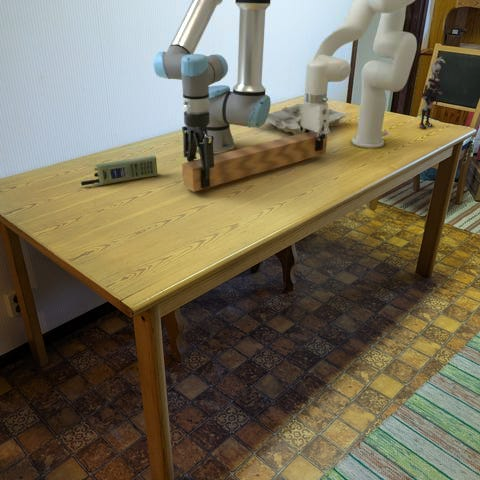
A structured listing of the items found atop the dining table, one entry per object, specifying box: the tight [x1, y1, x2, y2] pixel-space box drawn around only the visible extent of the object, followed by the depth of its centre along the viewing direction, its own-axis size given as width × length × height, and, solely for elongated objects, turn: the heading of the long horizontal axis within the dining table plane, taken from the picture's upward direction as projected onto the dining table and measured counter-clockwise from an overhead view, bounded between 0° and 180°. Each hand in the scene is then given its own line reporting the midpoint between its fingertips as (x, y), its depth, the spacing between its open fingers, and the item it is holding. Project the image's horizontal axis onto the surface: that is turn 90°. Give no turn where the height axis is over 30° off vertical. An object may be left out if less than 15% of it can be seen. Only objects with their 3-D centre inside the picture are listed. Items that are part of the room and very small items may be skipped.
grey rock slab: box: [265, 103, 350, 136], centre depth 219 cm, size 38×6×30 cm
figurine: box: [419, 56, 446, 130], centre depth 216 cm, size 15×6×30 cm, turn 132°
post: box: [181, 131, 328, 193], centre depth 171 cm, size 58×6×7 cm, turn 127°
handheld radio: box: [80, 155, 159, 187], centre depth 164 cm, size 7×3×25 cm
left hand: (199, 183), depth 159 cm, fingers closed on post, 6 cm apart
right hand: (312, 147), depth 185 cm, fingers closed on post, 6 cm apart
